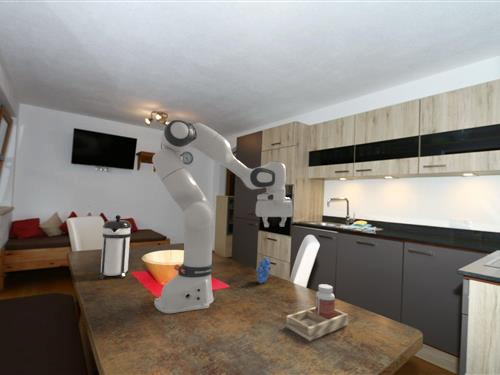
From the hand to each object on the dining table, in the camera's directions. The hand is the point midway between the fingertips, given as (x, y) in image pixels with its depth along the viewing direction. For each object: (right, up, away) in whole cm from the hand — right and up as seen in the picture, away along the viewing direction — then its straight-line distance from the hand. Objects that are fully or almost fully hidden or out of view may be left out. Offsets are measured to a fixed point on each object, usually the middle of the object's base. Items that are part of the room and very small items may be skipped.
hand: (274, 226), depth 121 cm
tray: (+11, -28, -34) cm, 46 cm away
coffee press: (-80, -26, +10) cm, 84 cm away
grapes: (-5, -29, +9) cm, 31 cm away
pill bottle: (+14, -27, -32) cm, 44 cm away
